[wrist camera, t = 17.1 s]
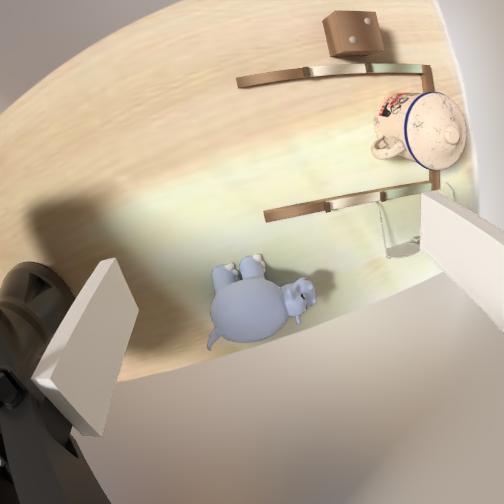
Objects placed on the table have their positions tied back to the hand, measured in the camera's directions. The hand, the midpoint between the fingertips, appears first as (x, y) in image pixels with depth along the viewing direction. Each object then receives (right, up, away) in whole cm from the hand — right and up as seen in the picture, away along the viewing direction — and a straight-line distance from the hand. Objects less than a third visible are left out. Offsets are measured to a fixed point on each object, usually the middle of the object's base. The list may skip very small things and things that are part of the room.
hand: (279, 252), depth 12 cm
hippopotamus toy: (0, -5, +33) cm, 33 cm away
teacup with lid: (+17, +16, +24) cm, 34 cm away
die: (+10, +26, +18) cm, 33 cm away
